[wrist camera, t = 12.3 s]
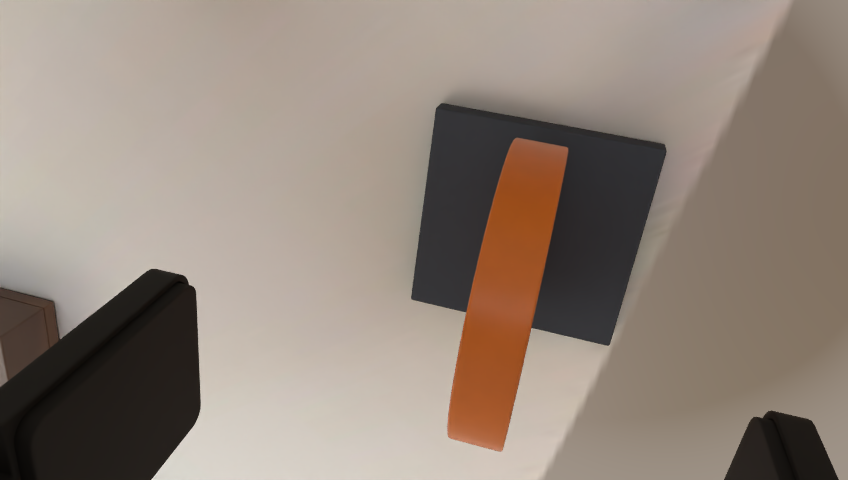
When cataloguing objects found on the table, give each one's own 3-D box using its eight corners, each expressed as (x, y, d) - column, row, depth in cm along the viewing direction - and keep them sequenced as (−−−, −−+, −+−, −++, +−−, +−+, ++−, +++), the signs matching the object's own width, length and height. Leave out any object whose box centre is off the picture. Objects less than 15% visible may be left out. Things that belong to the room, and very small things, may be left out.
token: (484, 333, 20) (430, 507, 14) (528, 105, 17) (484, 201, 11) (523, 342, 20) (486, 523, 14) (575, 114, 17) (557, 215, 11)
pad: (415, 290, 21) (410, 299, 20) (440, 102, 18) (435, 107, 18) (609, 335, 20) (609, 347, 19) (665, 144, 17) (667, 150, 17)
